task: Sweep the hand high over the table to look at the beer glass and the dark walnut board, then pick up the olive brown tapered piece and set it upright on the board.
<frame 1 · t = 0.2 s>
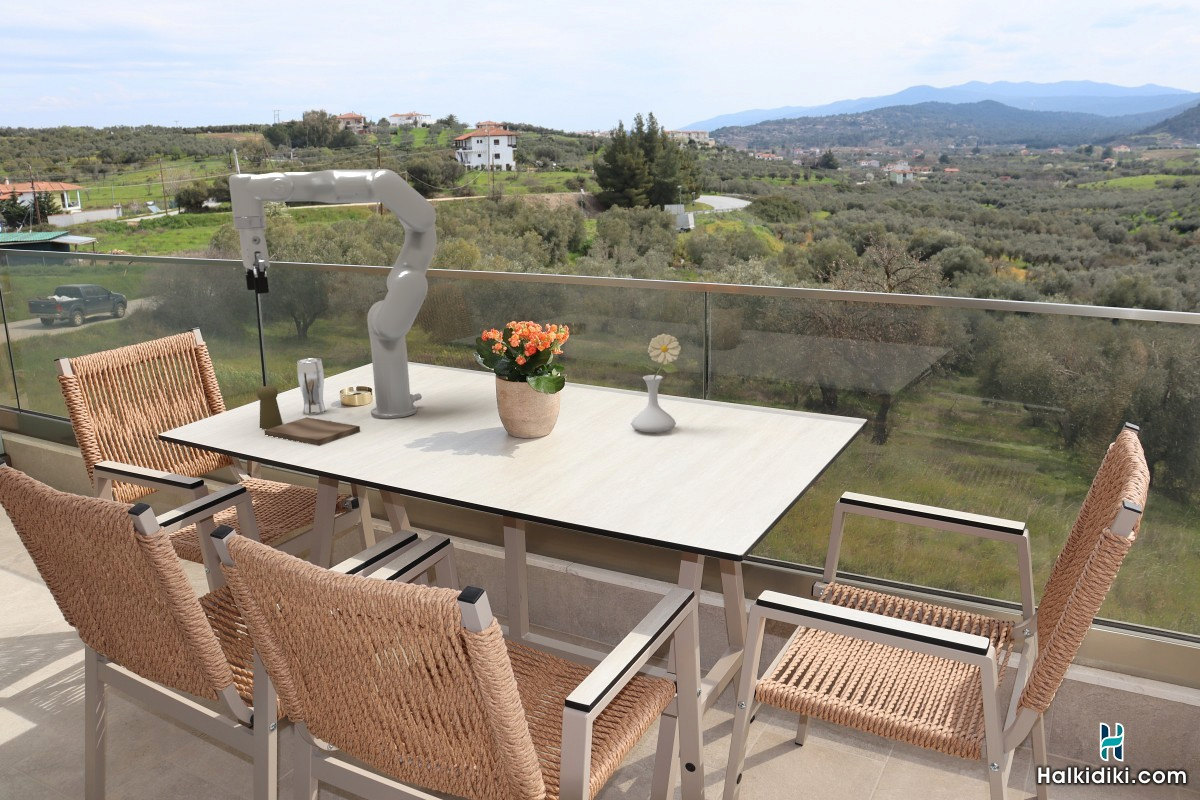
hand: (258, 291, 235), 37 cm above the table, tool pointing down, fingers open, 9 cm apart
walnut board: (312, 433, 238), on the table
beer glass: (314, 412, 259), on the table
olive brown tapered piece: (271, 427, 246), on the table
flower in vase: (656, 430, 232), on the table
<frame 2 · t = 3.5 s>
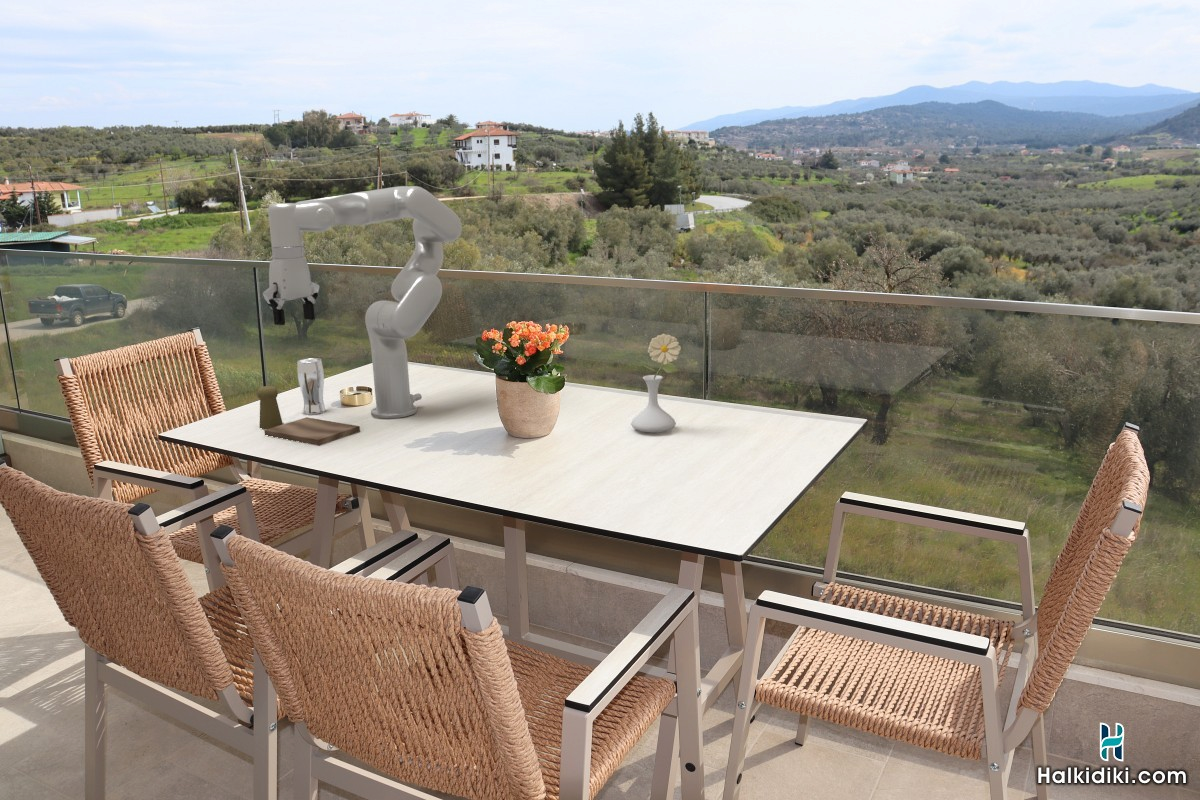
hand: (294, 321, 231), 29 cm above the table, tool pointing down, fingers open, 9 cm apart
nothing on the table moved.
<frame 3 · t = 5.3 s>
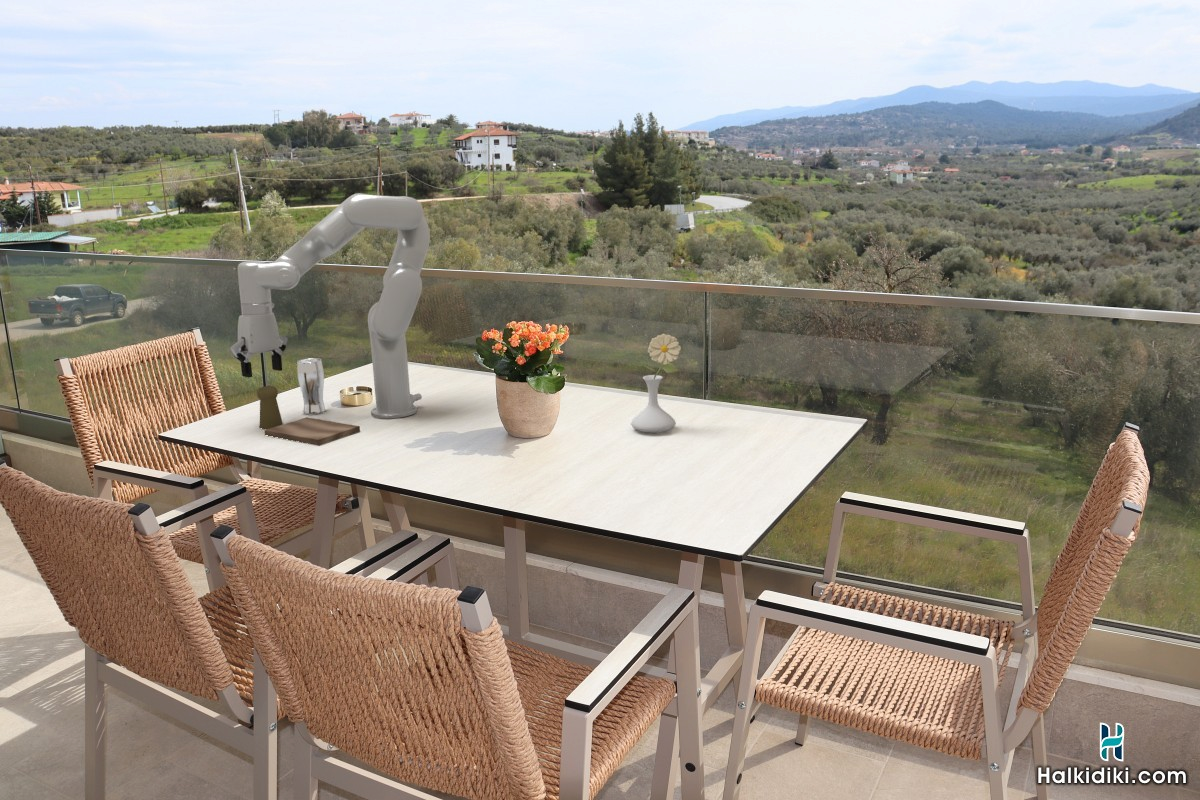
hand: (262, 373, 242), 15 cm above the table, tool pointing down, fingers open, 9 cm apart
nothing on the table moved.
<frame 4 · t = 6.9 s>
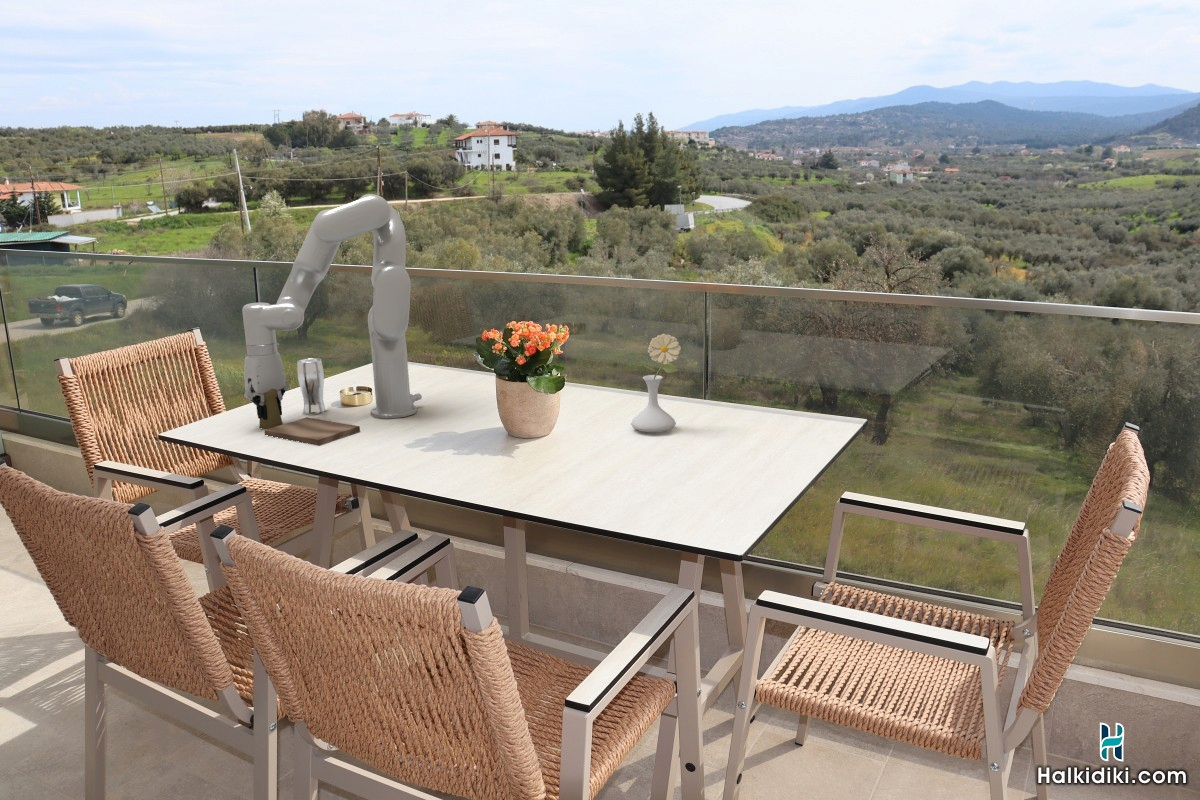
hand: (270, 416, 245), 3 cm above the table, tool pointing down, fingers closed on olive brown tapered piece, 4 cm apart
olive brown tapered piece: (271, 427, 246), on the table, touching gripper
everything else where it was.
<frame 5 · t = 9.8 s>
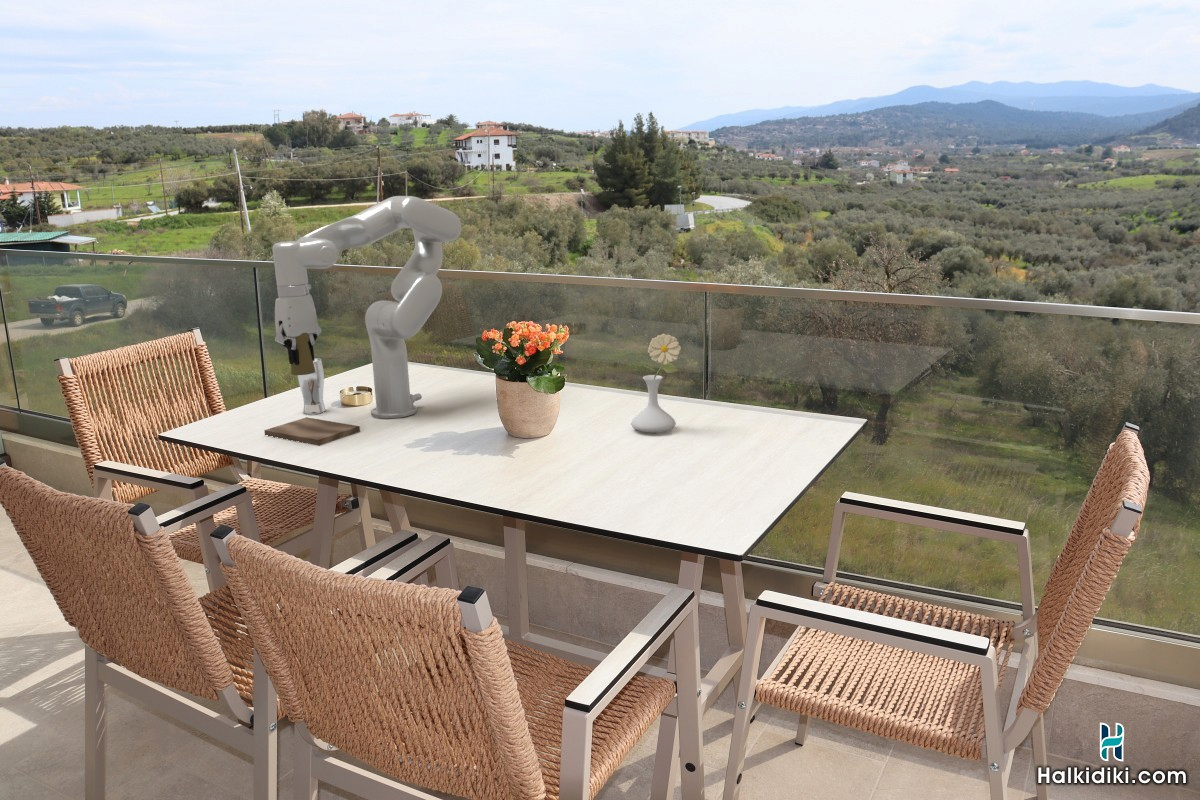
hand: (302, 361, 234), 19 cm above the table, tool pointing down, fingers closed on olive brown tapered piece, 4 cm apart
olive brown tapered piece: (303, 373, 235), point 16 cm above the table, touching gripper
everything else where it was.
when the fingers open (6 cm above the table, at t = 12.9 s): olive brown tapered piece drops 1 cm, resting on walnut board.
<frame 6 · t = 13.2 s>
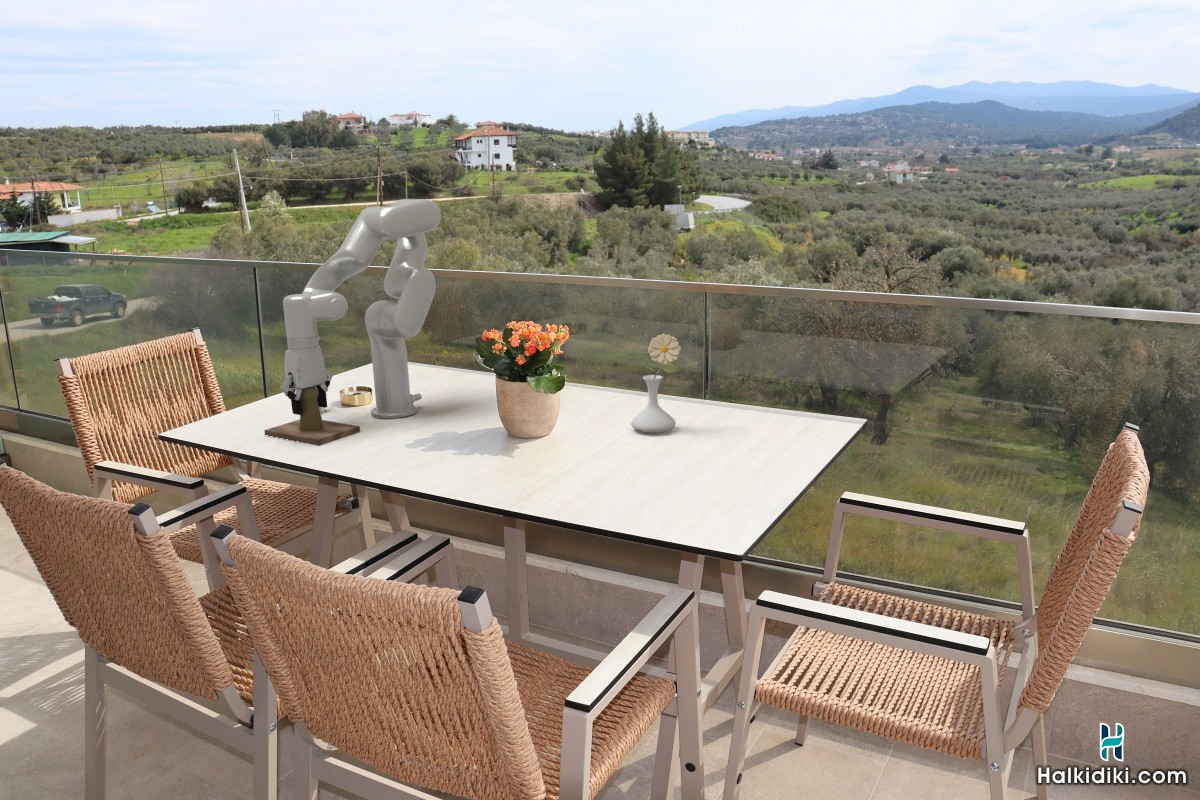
hand: (310, 410, 236), 6 cm above the table, tool pointing down, fingers open, 7 cm apart
olive brown tapered piece: (311, 428, 237), point 1 cm above the table, touching walnut board
everything else where it was.
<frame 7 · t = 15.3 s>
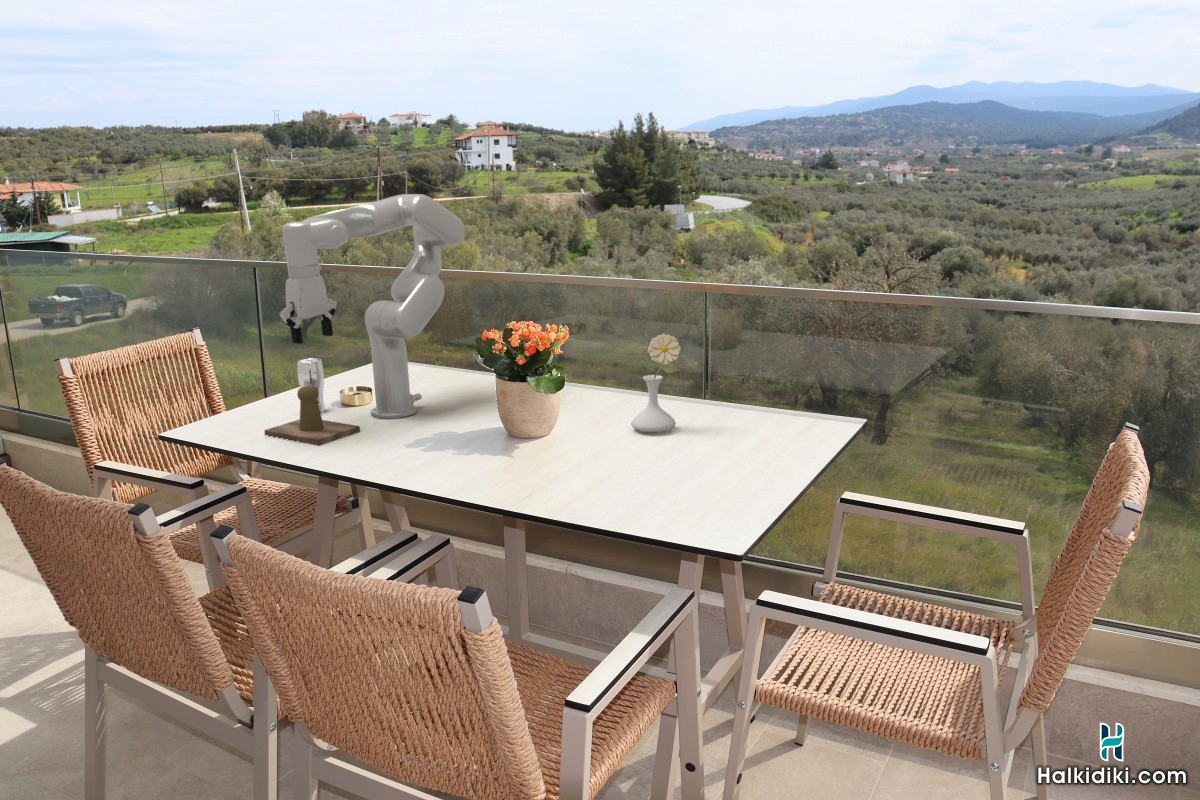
hand: (313, 339, 232), 25 cm above the table, tool pointing down, fingers open, 9 cm apart
nothing on the table moved.
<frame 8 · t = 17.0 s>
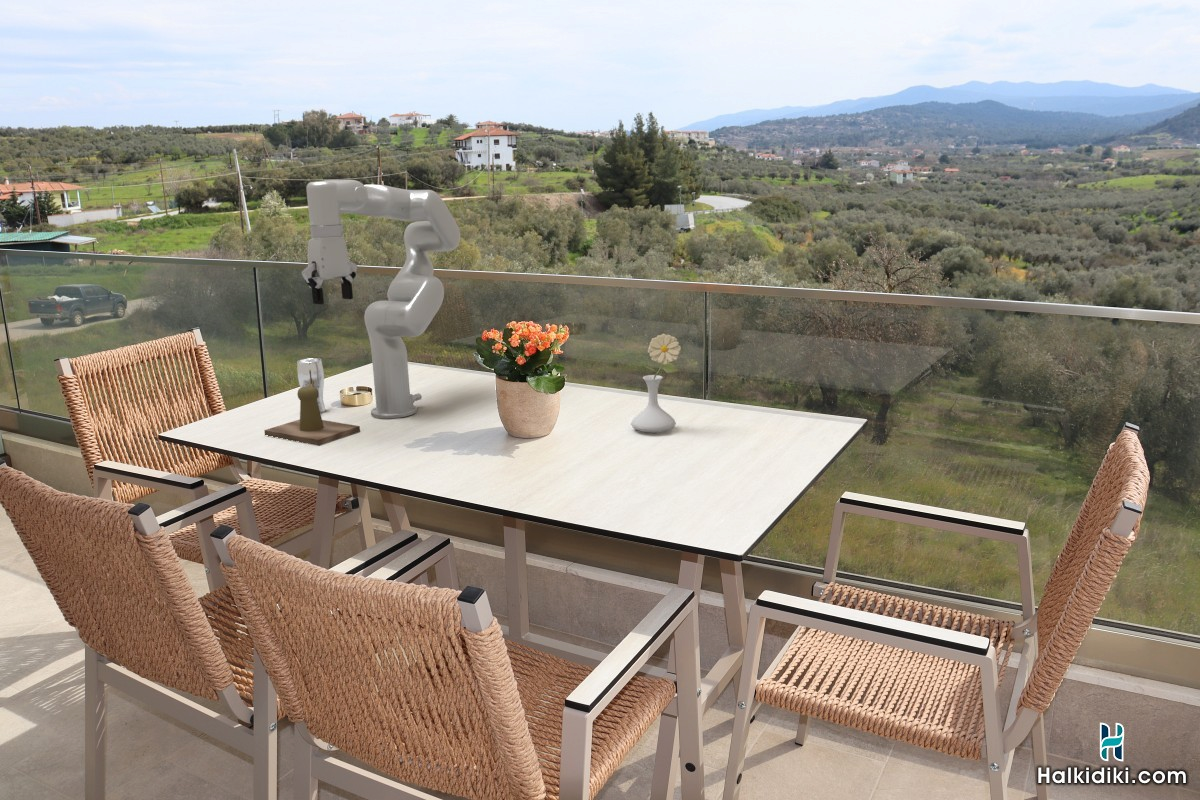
hand: (333, 301, 230), 34 cm above the table, tool pointing down, fingers open, 9 cm apart
nothing on the table moved.
at the end: olive brown tapered piece inside the target area on the walnut board (0.2 cm from its centre), point 1.3 cm above the walnut board's base; olive brown tapered piece tilted 0°; the gripper is holding nothing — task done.
